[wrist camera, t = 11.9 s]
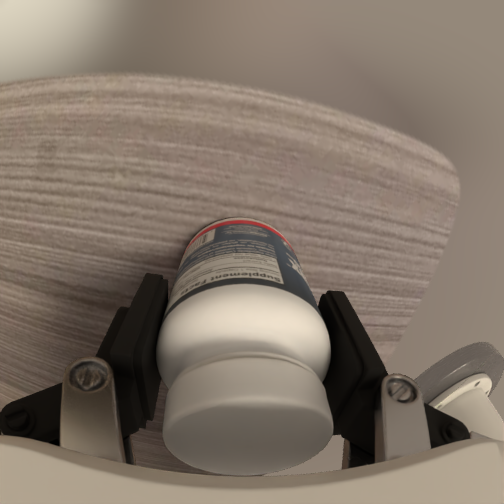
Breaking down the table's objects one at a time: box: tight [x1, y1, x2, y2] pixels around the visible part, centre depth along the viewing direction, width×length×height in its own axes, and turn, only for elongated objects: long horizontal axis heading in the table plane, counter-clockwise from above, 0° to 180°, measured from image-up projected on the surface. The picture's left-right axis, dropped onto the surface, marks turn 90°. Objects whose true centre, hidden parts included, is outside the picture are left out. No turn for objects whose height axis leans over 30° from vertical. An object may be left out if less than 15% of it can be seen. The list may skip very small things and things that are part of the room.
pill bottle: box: [156, 218, 333, 475], centre depth 10 cm, size 5×5×9 cm
